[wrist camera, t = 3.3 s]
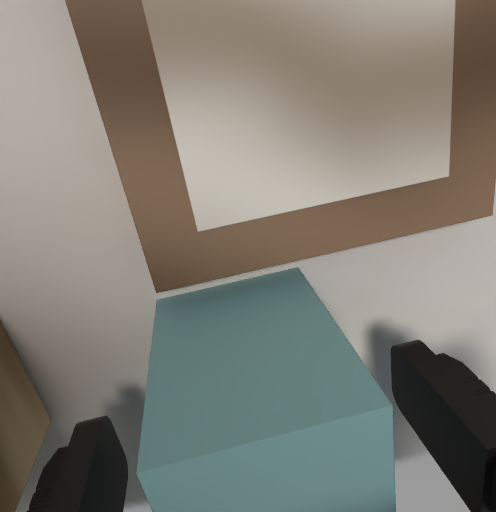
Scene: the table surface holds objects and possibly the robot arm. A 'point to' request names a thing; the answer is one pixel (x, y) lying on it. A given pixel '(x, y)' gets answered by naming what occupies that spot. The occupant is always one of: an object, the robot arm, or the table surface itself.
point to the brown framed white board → (291, 123)
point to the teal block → (261, 406)
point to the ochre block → (17, 425)
